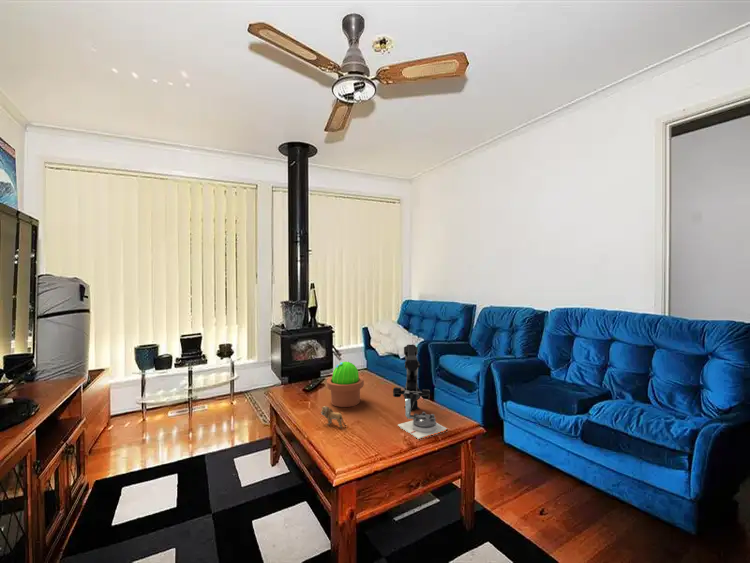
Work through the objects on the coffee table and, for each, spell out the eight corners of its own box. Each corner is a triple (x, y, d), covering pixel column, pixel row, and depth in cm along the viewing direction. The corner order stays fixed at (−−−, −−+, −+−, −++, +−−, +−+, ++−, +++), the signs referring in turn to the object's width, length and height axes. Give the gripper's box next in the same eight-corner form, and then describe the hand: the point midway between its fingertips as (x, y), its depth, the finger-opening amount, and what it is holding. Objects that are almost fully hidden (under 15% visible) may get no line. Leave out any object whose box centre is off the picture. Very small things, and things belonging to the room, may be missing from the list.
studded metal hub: (434, 418, 179) (434, 395, 179) (436, 428, 168) (436, 403, 168) (405, 417, 181) (405, 394, 180) (405, 427, 170) (405, 403, 169)
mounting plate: (397, 426, 178) (397, 420, 178) (426, 418, 187) (426, 413, 187) (418, 440, 163) (418, 433, 163) (447, 430, 172) (447, 424, 172)
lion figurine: (319, 424, 181) (318, 407, 181) (324, 420, 186) (324, 403, 186) (344, 429, 176) (344, 411, 175) (349, 425, 181) (349, 407, 180)
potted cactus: (366, 396, 222) (365, 356, 222) (361, 409, 200) (360, 365, 200) (331, 395, 224) (331, 356, 224) (323, 408, 203) (322, 365, 202)
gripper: (429, 389, 191) (428, 417, 181) (394, 386, 193) (392, 414, 183) (430, 379, 183) (430, 408, 172) (394, 376, 185) (391, 405, 175)
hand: (410, 409), depth 176 cm, fingers closed
